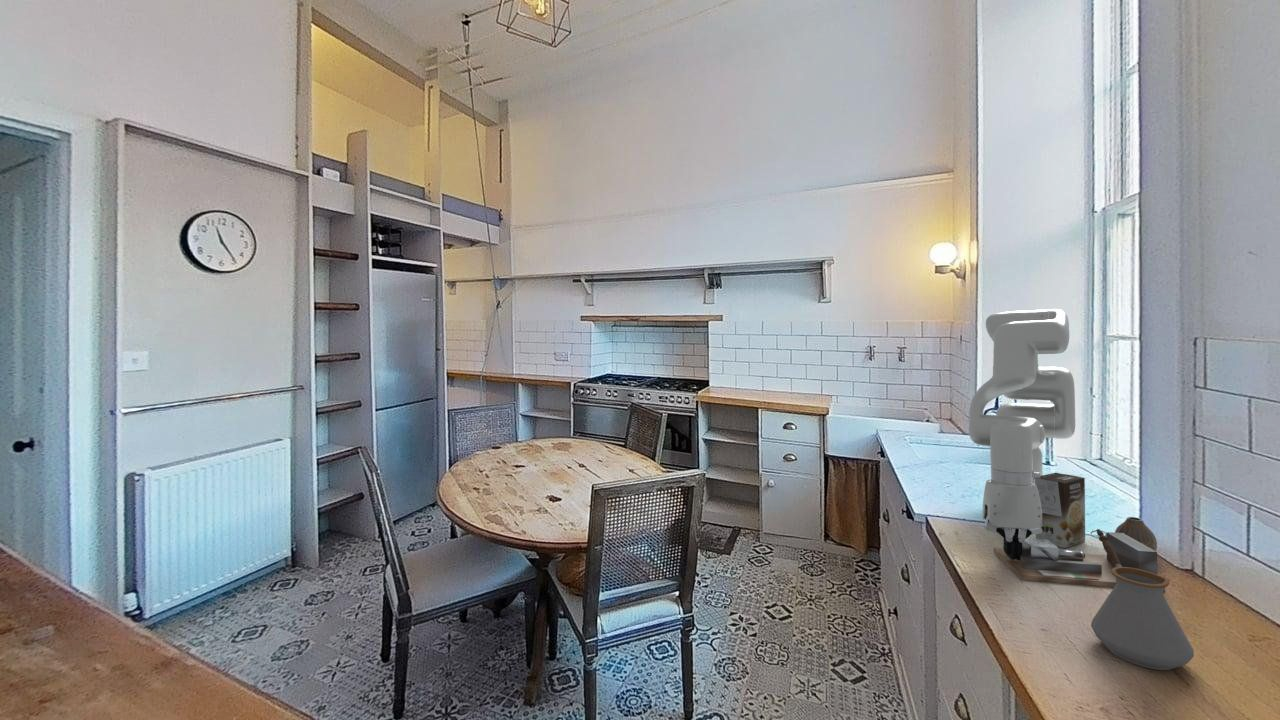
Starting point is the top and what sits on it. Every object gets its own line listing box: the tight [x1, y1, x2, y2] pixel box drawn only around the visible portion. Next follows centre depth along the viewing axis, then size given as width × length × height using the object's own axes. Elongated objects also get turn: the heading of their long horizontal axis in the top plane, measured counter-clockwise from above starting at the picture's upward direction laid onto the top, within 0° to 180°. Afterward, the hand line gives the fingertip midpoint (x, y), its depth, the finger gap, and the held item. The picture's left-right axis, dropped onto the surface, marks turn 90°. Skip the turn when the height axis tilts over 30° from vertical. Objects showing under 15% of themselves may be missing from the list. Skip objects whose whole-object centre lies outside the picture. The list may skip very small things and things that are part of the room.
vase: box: [1114, 516, 1158, 552], centre depth 110 cm, size 7×7×9 cm
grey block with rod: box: [1022, 537, 1086, 561], centre depth 104 cm, size 11×9×4 cm
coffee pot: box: [1090, 528, 1195, 671], centre depth 82 cm, size 21×12×15 cm, turn 154°
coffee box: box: [1035, 472, 1086, 549], centre depth 120 cm, size 9×6×16 cm
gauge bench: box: [993, 531, 1166, 592], centre depth 105 cm, size 24×14×7 cm, turn 74°
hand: (1013, 557), depth 108 cm, fingers closed
